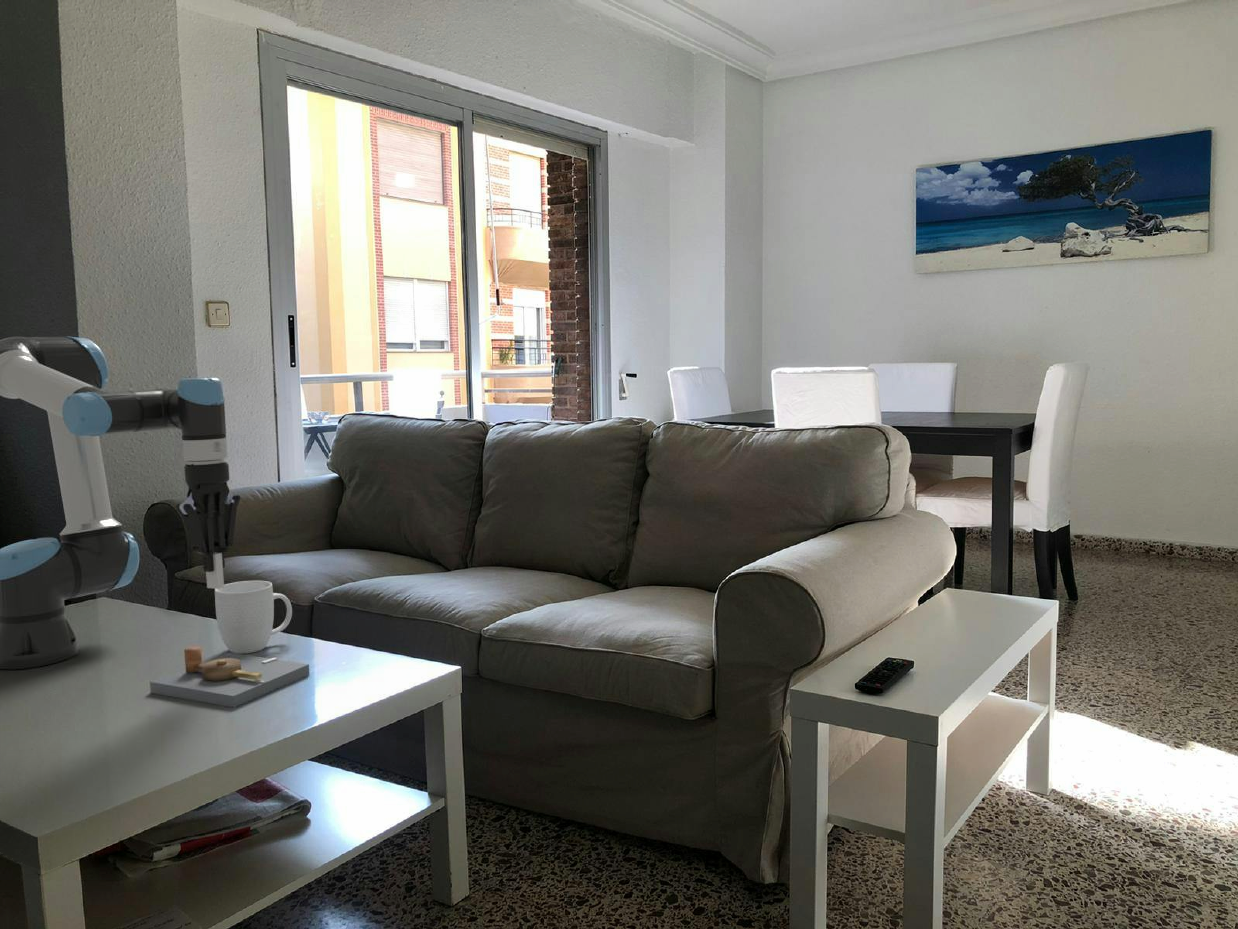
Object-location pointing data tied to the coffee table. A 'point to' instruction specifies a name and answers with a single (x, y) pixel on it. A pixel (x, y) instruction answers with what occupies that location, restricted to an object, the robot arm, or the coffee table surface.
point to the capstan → (216, 667)
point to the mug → (248, 615)
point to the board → (231, 681)
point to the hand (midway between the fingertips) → (215, 587)
